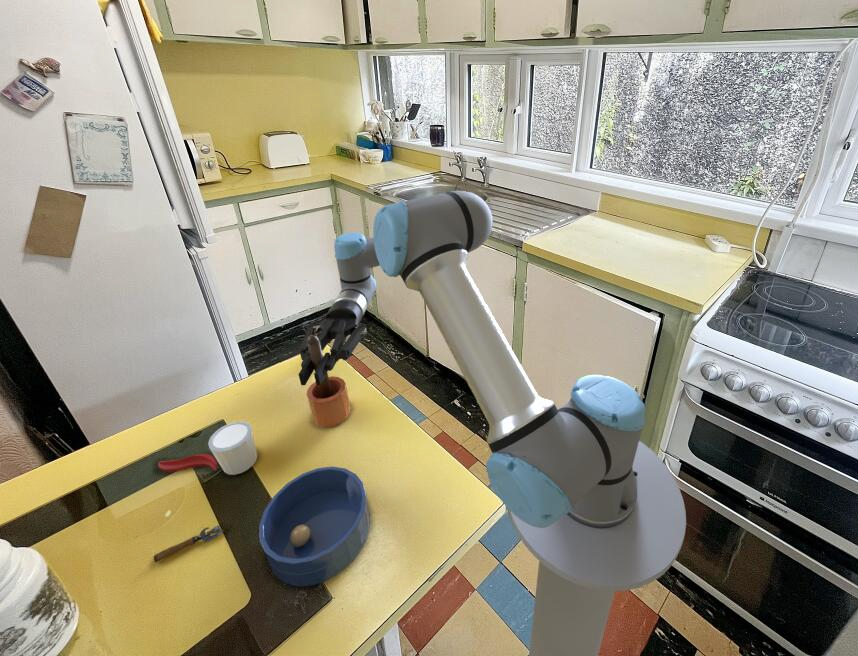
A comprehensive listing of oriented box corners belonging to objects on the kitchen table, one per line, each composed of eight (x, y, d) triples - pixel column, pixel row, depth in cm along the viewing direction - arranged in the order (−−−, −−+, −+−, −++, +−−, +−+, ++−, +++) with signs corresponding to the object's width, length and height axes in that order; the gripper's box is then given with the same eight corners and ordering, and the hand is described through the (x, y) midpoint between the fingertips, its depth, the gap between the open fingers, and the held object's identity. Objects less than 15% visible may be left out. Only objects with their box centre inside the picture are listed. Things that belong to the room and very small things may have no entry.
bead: (316, 533, 65) (312, 521, 64) (305, 553, 63) (301, 541, 61) (298, 530, 66) (295, 518, 64) (287, 550, 63) (283, 538, 62)
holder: (356, 402, 92) (351, 378, 88) (339, 429, 85) (334, 404, 82) (324, 398, 93) (318, 374, 89) (305, 424, 86) (299, 399, 83)
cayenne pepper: (226, 460, 78) (223, 453, 77) (205, 481, 74) (202, 474, 73) (174, 447, 80) (171, 440, 79) (152, 467, 76) (148, 460, 75)
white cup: (210, 472, 76) (198, 446, 72) (240, 443, 81) (230, 417, 78) (240, 482, 74) (229, 455, 71) (269, 451, 80) (260, 425, 77)
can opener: (155, 564, 61) (152, 560, 61) (157, 550, 63) (155, 545, 63) (225, 535, 65) (223, 531, 65) (225, 523, 67) (223, 518, 67)
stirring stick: (338, 407, 89) (319, 333, 79) (334, 415, 87) (314, 340, 77) (329, 406, 89) (309, 332, 79) (324, 414, 87) (303, 339, 77)
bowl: (384, 496, 72) (380, 473, 69) (343, 595, 58) (336, 571, 56) (304, 483, 74) (297, 461, 71) (246, 577, 60) (235, 553, 58)
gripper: (380, 325, 100) (353, 394, 79) (317, 325, 100) (273, 395, 79) (376, 299, 97) (347, 363, 76) (311, 299, 96) (263, 364, 75)
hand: (309, 379), depth 77 cm, fingers closed on stirring stick, 2 cm apart
